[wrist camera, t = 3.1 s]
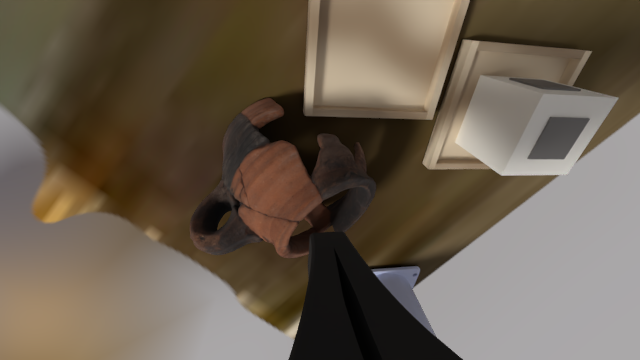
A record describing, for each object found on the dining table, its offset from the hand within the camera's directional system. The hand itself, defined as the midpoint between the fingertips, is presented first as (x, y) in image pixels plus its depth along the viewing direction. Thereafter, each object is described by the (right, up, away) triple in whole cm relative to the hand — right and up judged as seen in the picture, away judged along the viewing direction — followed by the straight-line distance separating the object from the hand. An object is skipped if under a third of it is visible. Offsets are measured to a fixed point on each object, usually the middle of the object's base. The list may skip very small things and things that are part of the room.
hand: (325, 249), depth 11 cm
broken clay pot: (-3, +4, +9) cm, 11 cm away
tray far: (+13, +8, +9) cm, 18 cm away
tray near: (+3, +11, +5) cm, 13 cm away
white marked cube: (+13, +8, +9) cm, 18 cm away
